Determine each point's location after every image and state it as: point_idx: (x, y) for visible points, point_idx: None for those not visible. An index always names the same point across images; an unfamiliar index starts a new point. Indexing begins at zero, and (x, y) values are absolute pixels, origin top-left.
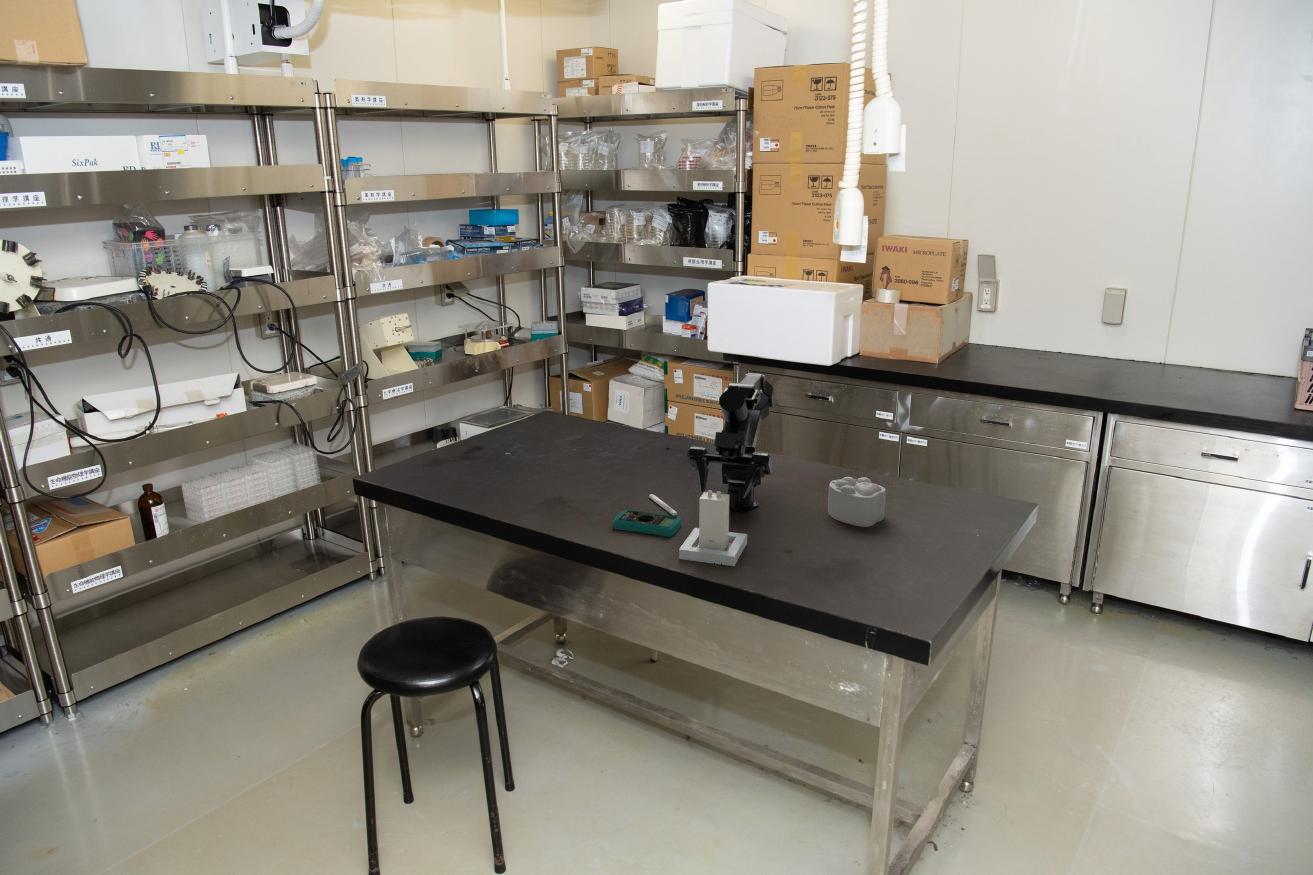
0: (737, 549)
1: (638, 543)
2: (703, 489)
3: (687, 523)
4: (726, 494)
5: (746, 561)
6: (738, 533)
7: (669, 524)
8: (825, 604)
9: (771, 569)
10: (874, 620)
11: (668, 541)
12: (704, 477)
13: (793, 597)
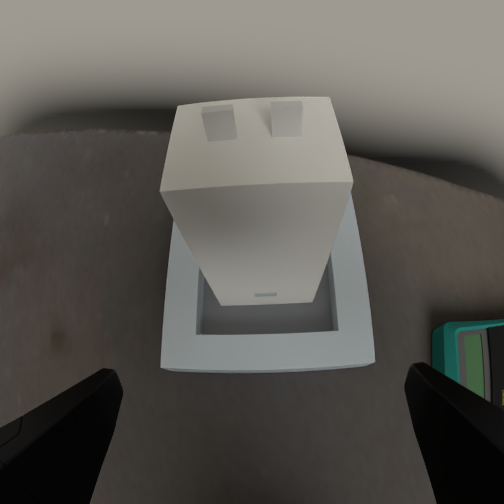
0: (174, 235)
1: (477, 255)
2: (417, 372)
3: (420, 457)
4: (178, 185)
5: (156, 245)
6: (193, 365)
7: (463, 363)
8: (37, 148)
9: (97, 224)
10: (2, 144)
11: (423, 298)
12: (469, 434)
13: (74, 144)
